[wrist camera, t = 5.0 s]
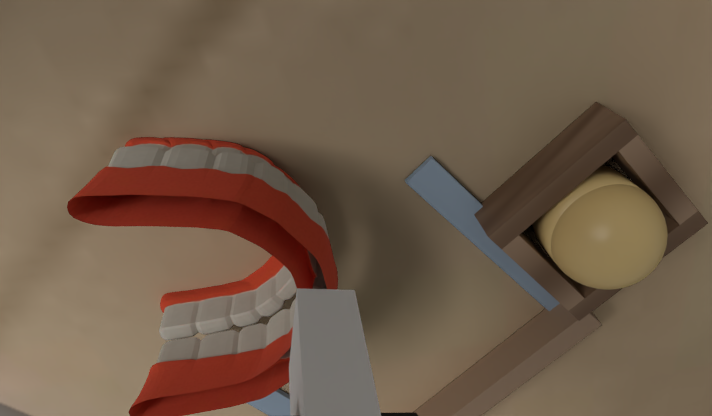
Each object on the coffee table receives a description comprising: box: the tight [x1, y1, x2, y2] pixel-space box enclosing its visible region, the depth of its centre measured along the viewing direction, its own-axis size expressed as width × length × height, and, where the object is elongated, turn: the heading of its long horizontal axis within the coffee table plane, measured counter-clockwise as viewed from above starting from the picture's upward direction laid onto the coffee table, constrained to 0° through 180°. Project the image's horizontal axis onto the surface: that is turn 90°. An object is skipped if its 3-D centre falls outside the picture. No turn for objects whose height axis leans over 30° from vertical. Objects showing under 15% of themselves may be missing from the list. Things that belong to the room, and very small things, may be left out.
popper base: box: [474, 102, 708, 321], centre depth 32 cm, size 9×9×3 cm
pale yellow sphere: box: [533, 166, 668, 290], centre depth 30 cm, size 6×6×6 cm
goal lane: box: [248, 156, 602, 416], centre depth 35 cm, size 16×20×2 cm
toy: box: [67, 137, 338, 416], centre depth 28 cm, size 12×10×8 cm
